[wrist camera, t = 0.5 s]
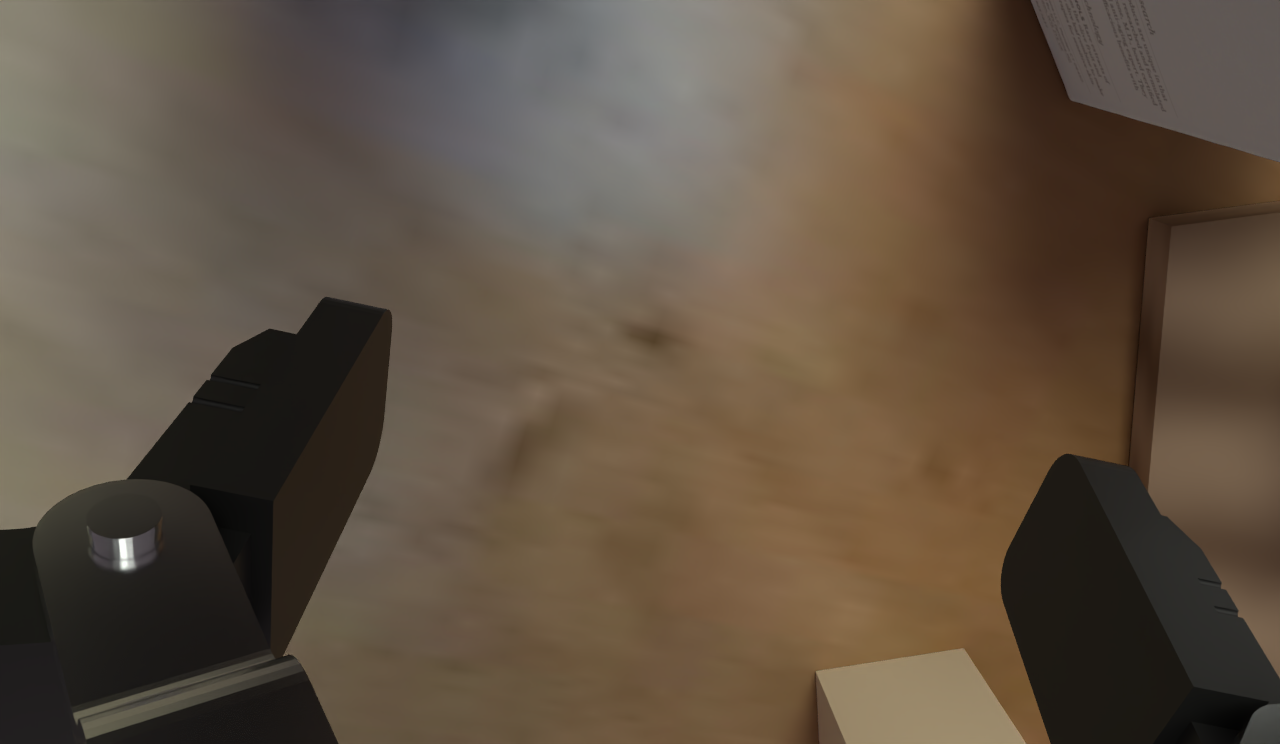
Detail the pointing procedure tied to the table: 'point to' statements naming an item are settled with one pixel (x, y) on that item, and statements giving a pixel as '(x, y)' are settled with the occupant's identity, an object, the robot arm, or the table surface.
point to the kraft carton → (911, 703)
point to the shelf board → (1216, 397)
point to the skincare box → (1174, 64)
